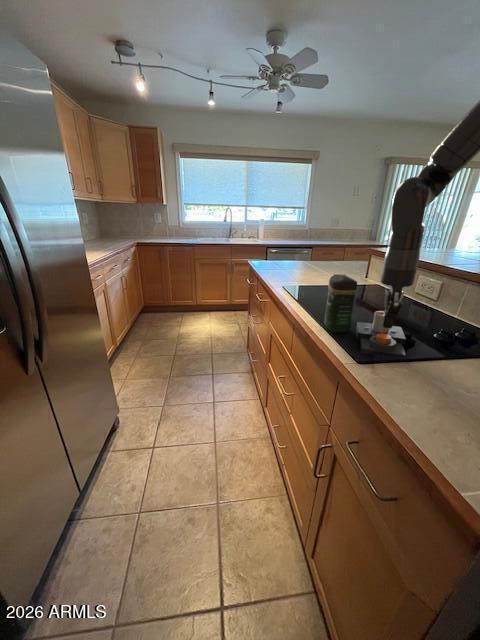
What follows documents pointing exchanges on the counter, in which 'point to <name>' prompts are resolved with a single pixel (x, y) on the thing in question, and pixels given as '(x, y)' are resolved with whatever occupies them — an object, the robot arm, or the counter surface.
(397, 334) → the fryer panel
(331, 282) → the coffee jar
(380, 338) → the power button
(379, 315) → the timer knob
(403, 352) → the power block
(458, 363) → the counter surface
